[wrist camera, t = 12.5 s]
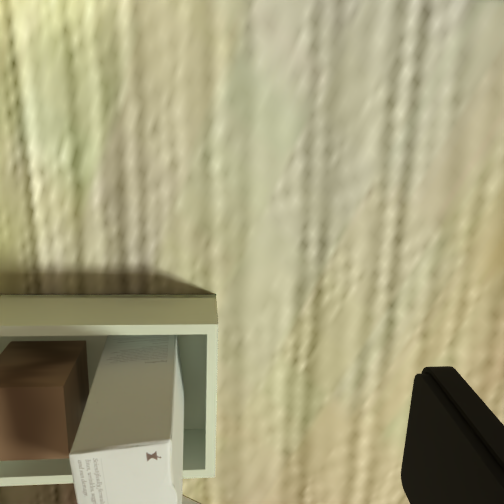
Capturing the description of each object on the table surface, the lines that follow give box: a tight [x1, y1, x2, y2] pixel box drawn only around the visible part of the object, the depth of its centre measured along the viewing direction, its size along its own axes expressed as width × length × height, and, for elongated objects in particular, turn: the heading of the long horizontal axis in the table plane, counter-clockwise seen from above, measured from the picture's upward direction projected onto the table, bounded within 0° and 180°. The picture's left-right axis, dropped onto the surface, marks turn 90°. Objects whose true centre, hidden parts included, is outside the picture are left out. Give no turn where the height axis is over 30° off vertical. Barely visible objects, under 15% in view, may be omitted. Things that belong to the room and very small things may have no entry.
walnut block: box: [0, 340, 89, 461], centre depth 38 cm, size 6×6×7 cm
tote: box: [0, 294, 218, 486], centre depth 39 cm, size 20×14×6 cm
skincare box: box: [69, 335, 184, 504], centre depth 35 cm, size 8×6×15 cm
